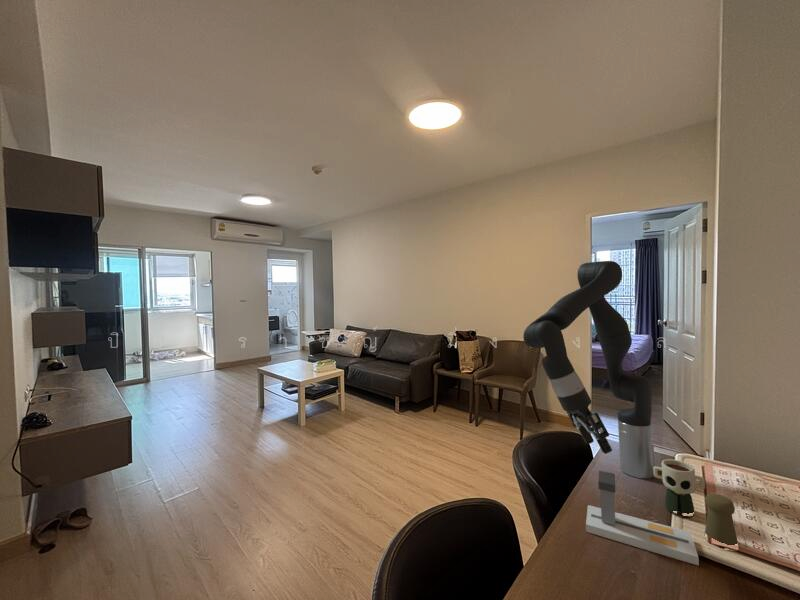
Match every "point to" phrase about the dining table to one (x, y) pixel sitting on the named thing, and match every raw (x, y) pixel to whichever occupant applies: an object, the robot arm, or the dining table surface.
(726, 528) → the cork
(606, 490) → the fader knob
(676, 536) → the fader console
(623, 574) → the dining table surface
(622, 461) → the robot arm
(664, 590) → the dining table surface
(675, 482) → the character mug
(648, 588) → the dining table surface
